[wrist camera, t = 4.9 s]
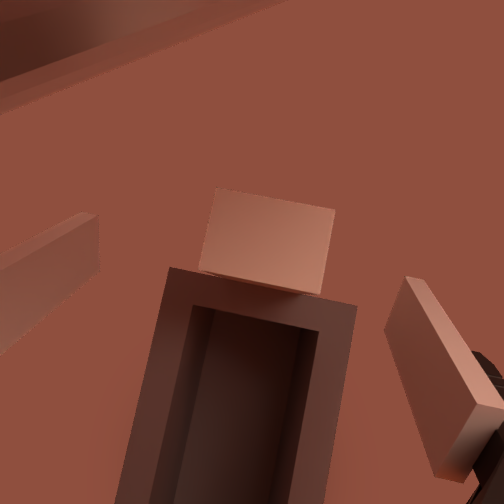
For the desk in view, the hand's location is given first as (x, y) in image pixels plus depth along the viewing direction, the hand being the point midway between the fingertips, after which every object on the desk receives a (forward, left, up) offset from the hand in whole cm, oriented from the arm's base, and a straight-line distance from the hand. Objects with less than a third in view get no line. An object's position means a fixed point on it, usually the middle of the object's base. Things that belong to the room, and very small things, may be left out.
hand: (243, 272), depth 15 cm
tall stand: (-1, -13, -30) cm, 33 cm away
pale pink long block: (-1, -9, 0) cm, 9 cm away
